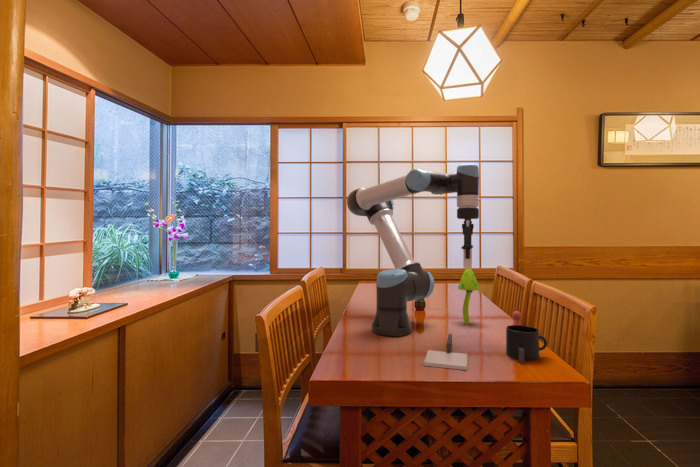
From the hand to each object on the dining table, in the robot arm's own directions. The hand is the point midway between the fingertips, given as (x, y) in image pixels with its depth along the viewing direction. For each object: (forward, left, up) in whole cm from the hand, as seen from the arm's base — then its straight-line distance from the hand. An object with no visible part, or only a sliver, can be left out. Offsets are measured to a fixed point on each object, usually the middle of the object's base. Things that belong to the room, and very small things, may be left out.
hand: (467, 267), depth 134 cm
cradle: (+5, -13, -27) cm, 30 cm away
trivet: (-6, -24, -27) cm, 36 cm away
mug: (+18, -11, -27) cm, 34 cm away
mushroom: (0, +22, -27) cm, 35 cm away
